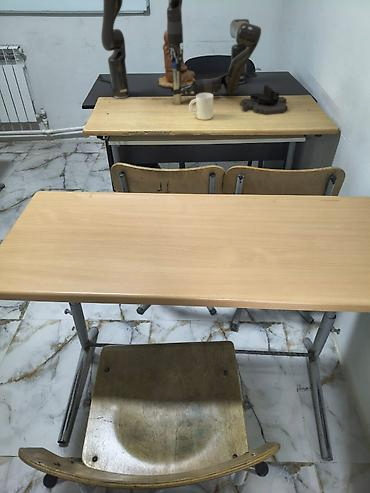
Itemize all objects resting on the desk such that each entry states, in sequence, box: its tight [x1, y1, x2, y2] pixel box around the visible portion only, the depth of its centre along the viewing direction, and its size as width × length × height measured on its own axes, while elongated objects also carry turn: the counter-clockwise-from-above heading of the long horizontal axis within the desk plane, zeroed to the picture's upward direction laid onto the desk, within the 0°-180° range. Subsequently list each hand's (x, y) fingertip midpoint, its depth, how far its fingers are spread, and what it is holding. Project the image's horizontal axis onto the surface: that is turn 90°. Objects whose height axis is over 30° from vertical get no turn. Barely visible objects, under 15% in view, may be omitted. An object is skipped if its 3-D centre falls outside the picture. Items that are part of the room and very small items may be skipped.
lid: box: [171, 62, 182, 69], centre depth 183 cm, size 5×5×2 cm
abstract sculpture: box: [240, 84, 289, 115], centre depth 183 cm, size 25×9×20 cm
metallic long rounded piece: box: [172, 68, 183, 105], centre depth 189 cm, size 4×4×19 cm
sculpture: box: [157, 29, 196, 89], centre depth 214 cm, size 27×24×30 cm
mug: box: [188, 93, 214, 121], centre depth 174 cm, size 12×8×10 cm
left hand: (176, 69), depth 184 cm, fingers open, 6 cm apart
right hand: (172, 91), depth 190 cm, fingers closed on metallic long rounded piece, 4 cm apart
